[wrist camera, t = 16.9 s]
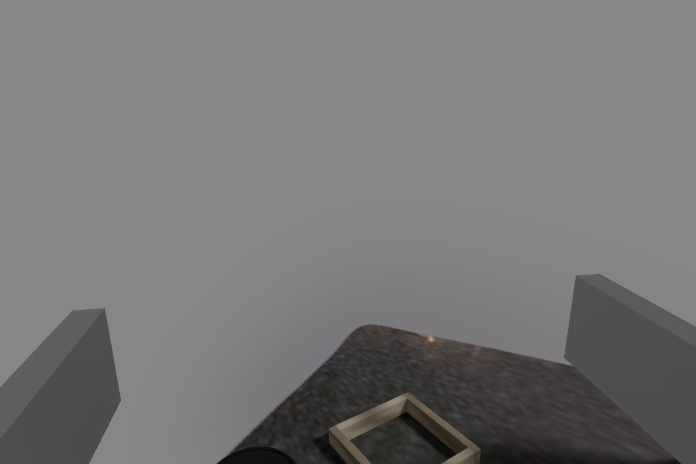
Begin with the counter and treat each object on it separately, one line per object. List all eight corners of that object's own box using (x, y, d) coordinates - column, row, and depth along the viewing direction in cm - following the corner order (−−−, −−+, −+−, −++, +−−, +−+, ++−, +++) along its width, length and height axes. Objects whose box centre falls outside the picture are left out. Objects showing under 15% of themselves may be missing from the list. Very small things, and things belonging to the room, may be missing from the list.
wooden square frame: (407, 405, 53) (408, 392, 52) (479, 464, 44) (480, 449, 44) (329, 443, 47) (328, 428, 47) (394, 518, 39) (394, 501, 38)
